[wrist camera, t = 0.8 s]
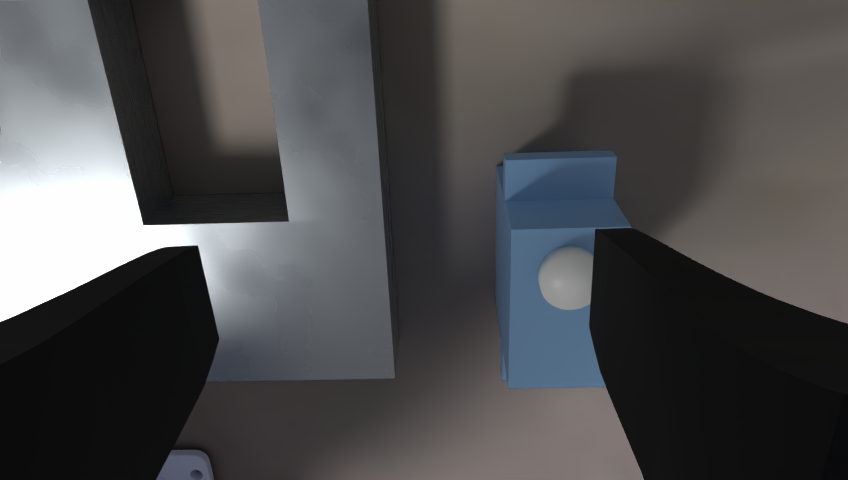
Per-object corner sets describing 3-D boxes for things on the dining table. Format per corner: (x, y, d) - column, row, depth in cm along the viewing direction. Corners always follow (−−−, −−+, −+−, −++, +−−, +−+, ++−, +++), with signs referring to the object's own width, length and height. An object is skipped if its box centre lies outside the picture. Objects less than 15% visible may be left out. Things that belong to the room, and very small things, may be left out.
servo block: (578, 325, 23) (614, 432, 18) (494, 327, 23) (509, 433, 19) (592, 125, 20) (642, 189, 15) (496, 129, 20) (514, 192, 15)
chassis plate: (399, 337, 24) (394, 380, 21) (26, 345, 24) (-16, 387, 22) (364, -177, 17) (352, -194, 15) (-154, -151, 17) (-243, -164, 15)
